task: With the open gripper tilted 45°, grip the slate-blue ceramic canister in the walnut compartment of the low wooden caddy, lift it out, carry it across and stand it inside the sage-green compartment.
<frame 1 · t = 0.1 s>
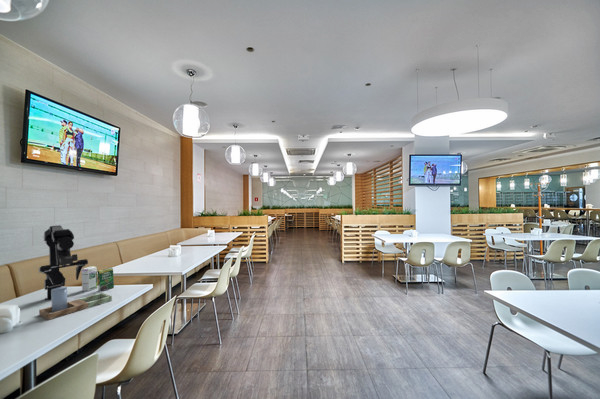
hand: (65, 282, 134), 15 cm above the table, tool pointing down, fingers open, 9 cm apart
caddy: (77, 307, 140), on the table
coffee box: (106, 289, 168), on the table
canister: (59, 312, 133), resting in caddy
syrup box: (89, 289, 169), on the table
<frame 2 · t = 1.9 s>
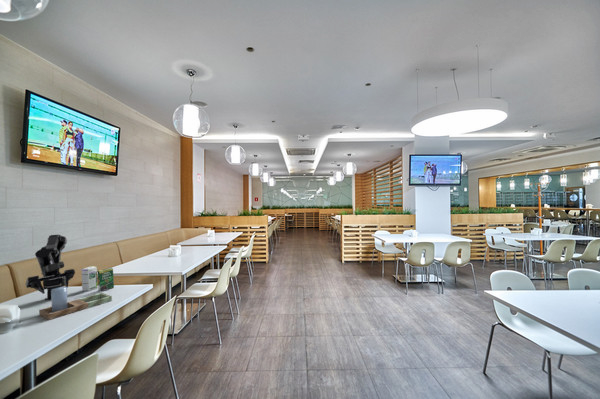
hand: (55, 290, 135), 11 cm above the table, tool tilted 45°, fingers open, 9 cm apart
nothing on the table moved.
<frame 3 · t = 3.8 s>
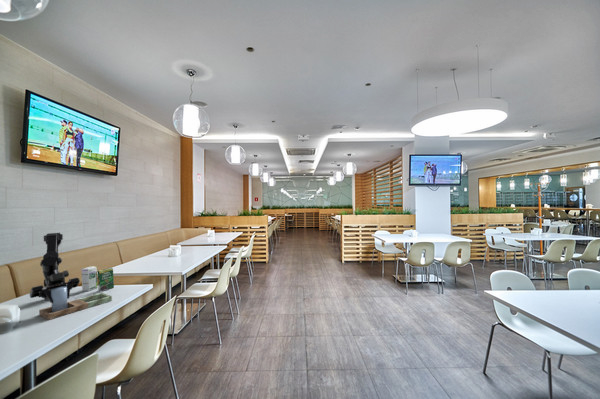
hand: (60, 300, 132), 7 cm above the table, tool tilted 45°, fingers closed on canister, 6 cm apart
canister: (59, 312, 133), resting in caddy, touching gripper
everything else where it was.
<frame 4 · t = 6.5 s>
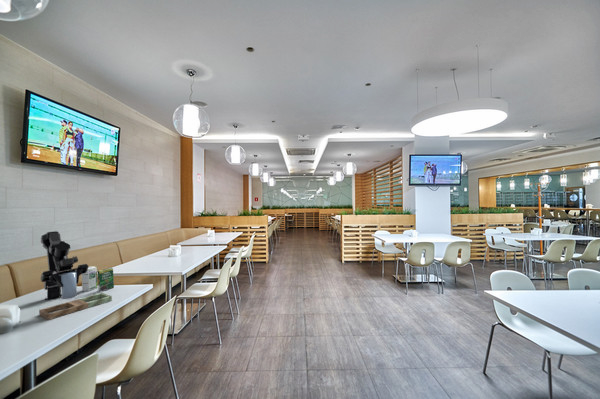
hand: (70, 285, 136), 13 cm above the table, tool tilted 45°, fingers closed on canister, 6 cm apart
canister: (69, 297, 137), point 7 cm above the table, touching gripper
everything else where it was.
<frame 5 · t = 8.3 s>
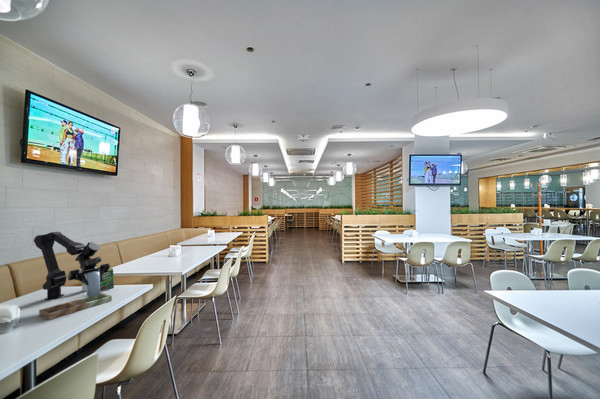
hand: (94, 283, 145), 11 cm above the table, tool tilted 45°, fingers closed on canister, 6 cm apart
canister: (93, 294, 146), point 4 cm above the table, touching gripper
everything else where it was.
when the fingers open (8 cm above the table, at t = 9.4 s): canister drops 1 cm, resting in caddy.
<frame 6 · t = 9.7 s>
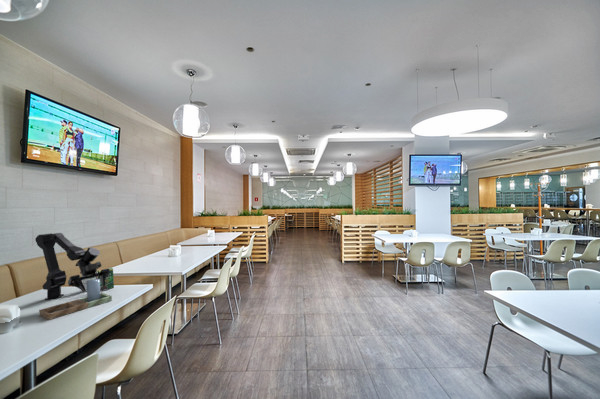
hand: (94, 288, 145), 8 cm above the table, tool tilted 45°, fingers open, 9 cm apart
canister: (94, 302, 146), resting in caddy
everything else where it was.
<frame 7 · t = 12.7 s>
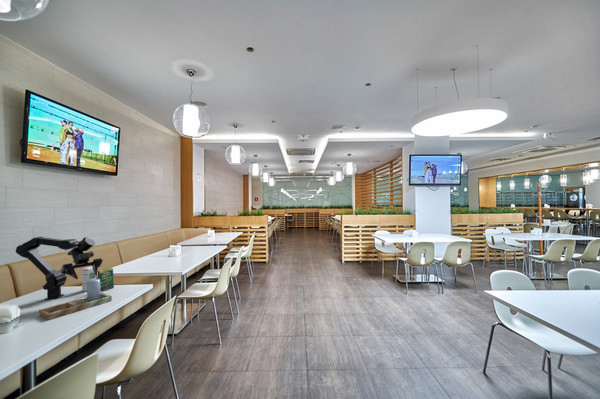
hand: (87, 276, 150), 14 cm above the table, tool tilted 45°, fingers open, 9 cm apart
nothing on the table moved.
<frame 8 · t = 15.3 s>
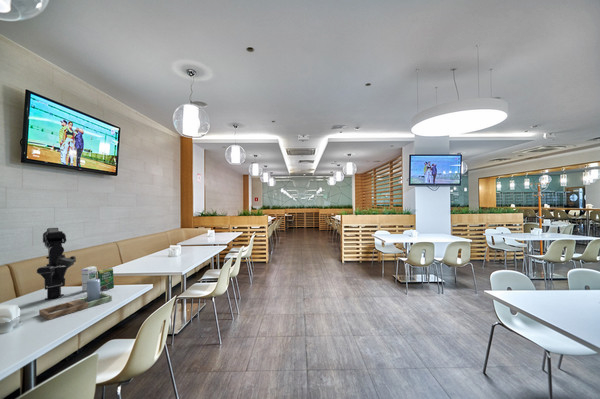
hand: (56, 281, 144), 13 cm above the table, tool pointing down, fingers open, 9 cm apart
nothing on the table moved.
at the end: canister 0.1 cm from the target spot, resting in caddy; canister tilted 0°; the gripper is holding nothing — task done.
